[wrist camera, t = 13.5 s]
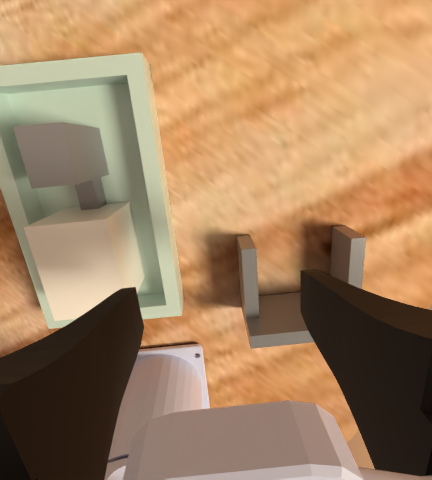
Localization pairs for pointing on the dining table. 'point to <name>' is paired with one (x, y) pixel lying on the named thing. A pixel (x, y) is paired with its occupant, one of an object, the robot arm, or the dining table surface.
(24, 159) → the joined block pair
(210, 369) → the dining table surface
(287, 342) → the bay
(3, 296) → the dining table surface
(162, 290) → the tray
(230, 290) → the dining table surface
